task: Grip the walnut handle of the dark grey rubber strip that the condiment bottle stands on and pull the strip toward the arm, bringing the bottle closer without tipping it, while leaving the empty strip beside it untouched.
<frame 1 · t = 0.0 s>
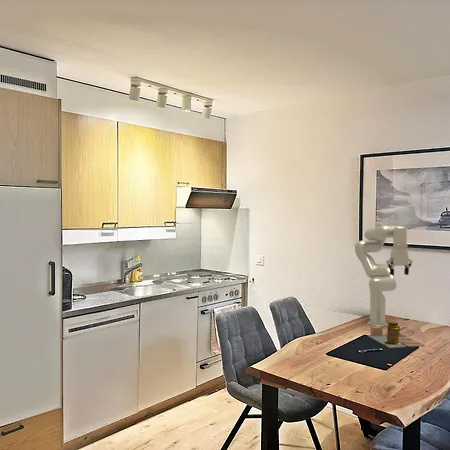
hand: (399, 274, 269), 37 cm above the table, tool pointing down, fingers open, 9 cm apart
strip empty: (403, 335, 259), point 3 cm above the table, slide at 0.0 cm
strip loaded: (386, 336, 257), point 3 cm above the table, slide at 0.1 cm, touching condiment
condiment: (391, 343, 251), resting on strip loaded
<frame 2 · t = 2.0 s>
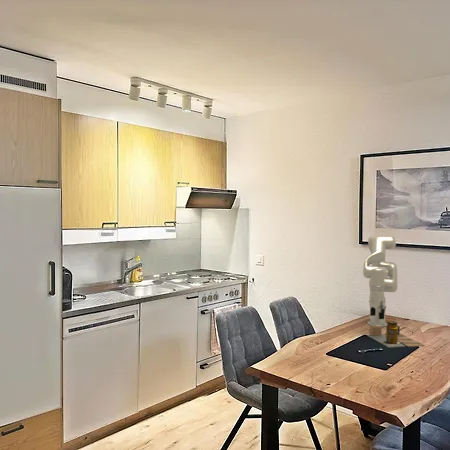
hand: (377, 317, 265), 12 cm above the table, tool pointing down, fingers open, 9 cm apart
strip loaded: (385, 336, 258), point 3 cm above the table, slide at 1.0 cm, touching condiment
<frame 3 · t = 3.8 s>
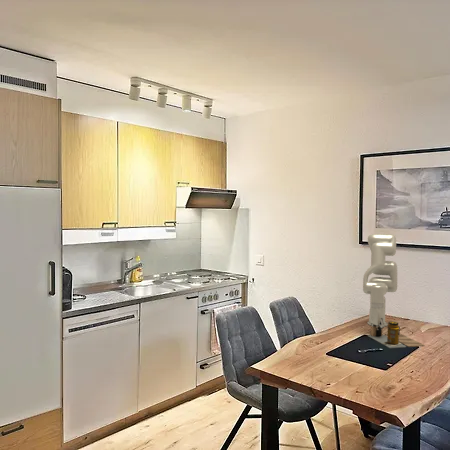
hand: (376, 335, 267), 1 cm above the table, tool pointing down, fingers closed on strip loaded, 3 cm apart
strip loaded: (386, 336, 256), point 3 cm above the table, slide at -0.1 cm, touching condiment, gripper
condiment: (391, 344, 251), resting on strip loaded
everything else where it was.
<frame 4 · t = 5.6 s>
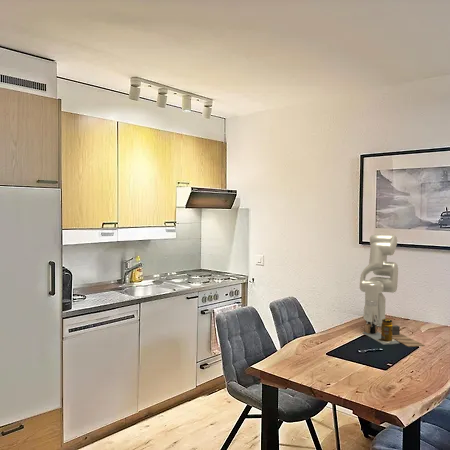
hand: (371, 332, 273), 1 cm above the table, tool pointing down, fingers closed on strip loaded, 3 cm apart
strip loaded: (380, 333, 263), point 3 cm above the table, slide at 6.3 cm, touching condiment, gripper
condiment: (385, 340, 257), resting on strip loaded
everything else where it was.
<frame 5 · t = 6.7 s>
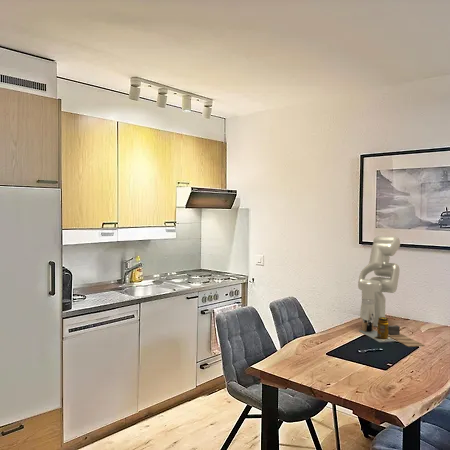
hand: (367, 330, 277), 1 cm above the table, tool pointing down, fingers closed on strip loaded, 3 cm apart
strip loaded: (376, 331, 267), point 3 cm above the table, slide at 10.5 cm, touching condiment, gripper
condiment: (381, 338, 261), resting on strip loaded
everything else where it was.
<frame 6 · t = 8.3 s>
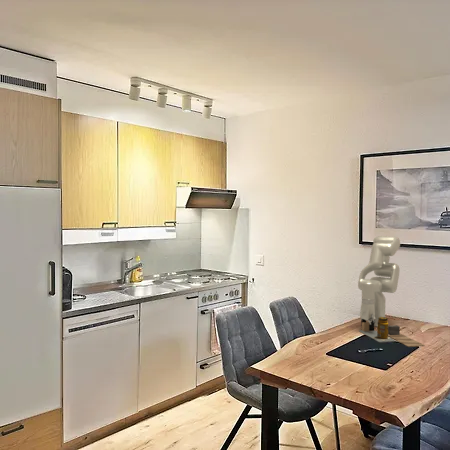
hand: (367, 328, 277), 2 cm above the table, tool pointing down, fingers open, 9 cm apart
strip loaded: (376, 331, 267), point 3 cm above the table, slide at 10.6 cm, touching condiment
everything else where it was.
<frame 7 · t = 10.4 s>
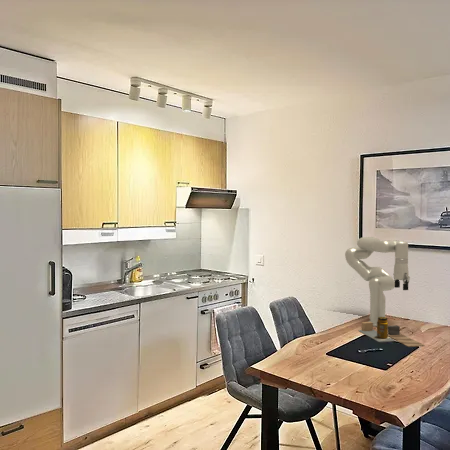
hand: (401, 288, 275), 27 cm above the table, tool pointing down, fingers open, 9 cm apart
strip loaded: (375, 331, 267), point 3 cm above the table, slide at 11.1 cm, touching condiment
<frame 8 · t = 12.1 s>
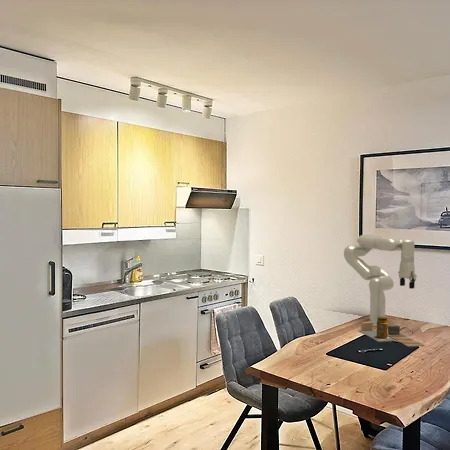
hand: (407, 287, 275), 28 cm above the table, tool pointing down, fingers open, 9 cm apart
strip loaded: (375, 331, 268), point 3 cm above the table, slide at 11.4 cm, touching condiment
at the end: strip loaded slide at 11.4 cm; condiment inside the target area (0.1 cm from its centre), resting on strip loaded; condiment tilted 0° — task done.
